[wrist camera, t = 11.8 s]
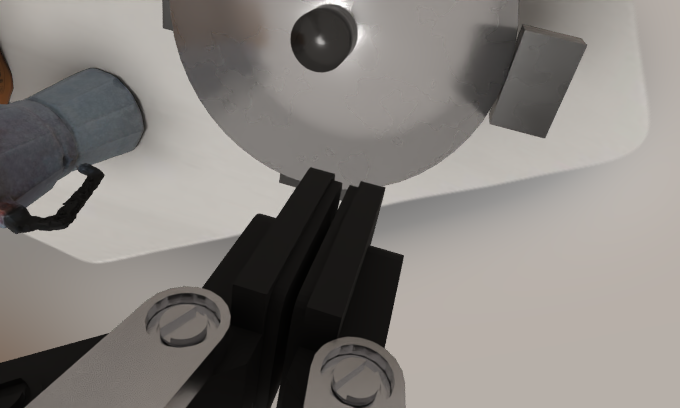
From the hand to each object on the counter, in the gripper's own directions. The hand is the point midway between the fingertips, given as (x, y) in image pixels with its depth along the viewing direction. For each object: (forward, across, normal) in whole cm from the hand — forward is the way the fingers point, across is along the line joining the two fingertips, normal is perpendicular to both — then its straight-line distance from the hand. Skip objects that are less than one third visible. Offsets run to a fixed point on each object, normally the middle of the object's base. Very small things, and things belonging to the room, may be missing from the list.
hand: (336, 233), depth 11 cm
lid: (+19, +3, 0) cm, 19 cm away
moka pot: (+31, +29, +16) cm, 46 cm away
